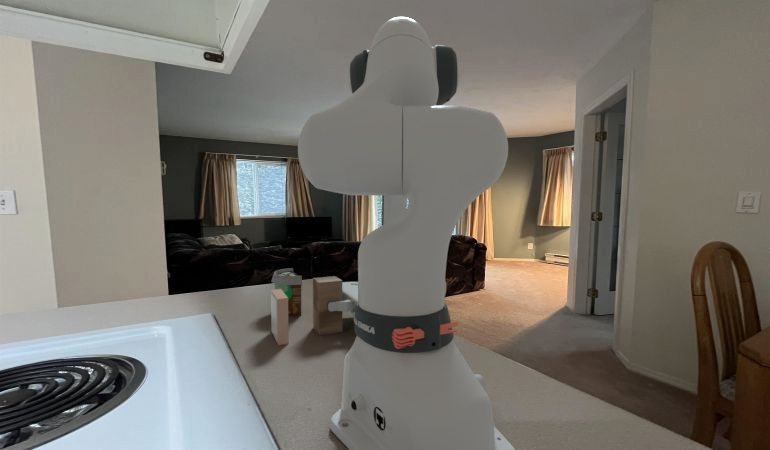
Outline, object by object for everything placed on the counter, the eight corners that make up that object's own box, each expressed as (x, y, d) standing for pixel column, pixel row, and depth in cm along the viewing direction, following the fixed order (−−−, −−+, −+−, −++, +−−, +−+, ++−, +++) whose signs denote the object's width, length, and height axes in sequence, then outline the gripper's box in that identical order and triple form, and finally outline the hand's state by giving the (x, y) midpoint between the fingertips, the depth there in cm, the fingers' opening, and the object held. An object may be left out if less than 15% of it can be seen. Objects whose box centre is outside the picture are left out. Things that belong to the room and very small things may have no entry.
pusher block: (342, 331, 74) (342, 280, 74) (319, 335, 72) (319, 282, 71) (335, 324, 79) (335, 276, 78) (313, 327, 77) (312, 278, 76)
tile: (288, 343, 68) (288, 297, 67) (277, 345, 67) (276, 299, 66) (281, 330, 75) (281, 288, 75) (271, 331, 74) (270, 290, 74)
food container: (269, 306, 92) (268, 269, 92) (293, 304, 95) (292, 267, 94) (275, 320, 81) (275, 278, 81) (302, 317, 84) (302, 276, 83)
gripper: (364, 274, 90) (311, 278, 84) (403, 291, 71) (338, 299, 65) (364, 298, 90) (311, 304, 84) (402, 322, 72) (338, 332, 66)
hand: (323, 302), depth 75 cm, fingers closed on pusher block, 5 cm apart
